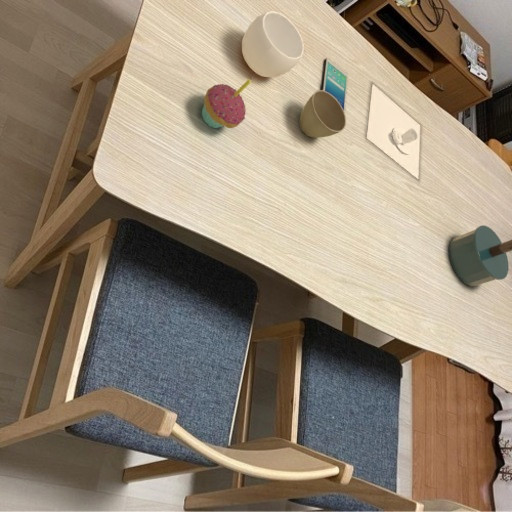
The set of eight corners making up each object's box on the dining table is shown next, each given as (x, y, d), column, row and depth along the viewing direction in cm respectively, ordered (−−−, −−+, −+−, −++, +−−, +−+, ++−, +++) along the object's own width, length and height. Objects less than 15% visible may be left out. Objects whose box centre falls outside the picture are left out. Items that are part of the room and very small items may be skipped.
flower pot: (326, 124, 132) (348, 108, 127) (319, 155, 127) (343, 140, 122) (294, 98, 128) (316, 81, 123) (286, 129, 123) (309, 112, 118)
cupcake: (201, 89, 110) (238, 53, 102) (234, 116, 114) (273, 84, 105) (187, 119, 105) (225, 84, 97) (223, 146, 109) (262, 115, 100)
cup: (284, 71, 129) (314, 46, 122) (262, 97, 121) (292, 71, 114) (247, 28, 126) (275, -1, 119) (222, 51, 118) (251, 22, 111)
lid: (499, 236, 154) (528, 225, 148) (508, 286, 148) (539, 277, 142) (467, 219, 146) (497, 207, 140) (475, 272, 139) (507, 262, 134)
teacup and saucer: (388, 142, 147) (401, 134, 144) (390, 120, 151) (402, 112, 148) (410, 160, 151) (423, 153, 148) (411, 138, 155) (424, 131, 152)
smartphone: (348, 73, 144) (344, 116, 137) (345, 75, 145) (342, 118, 137) (327, 56, 141) (322, 99, 133) (324, 58, 141) (319, 101, 134)
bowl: (475, 246, 158) (500, 236, 153) (483, 292, 152) (509, 283, 147) (445, 231, 151) (471, 221, 145) (452, 279, 145) (479, 270, 140)
